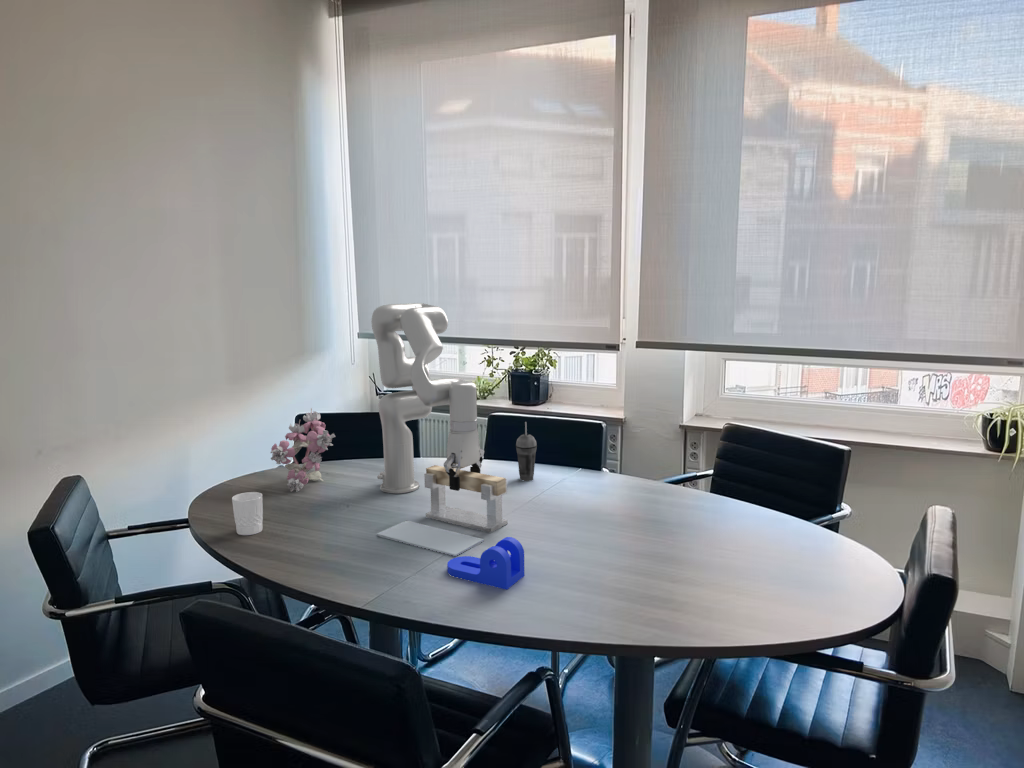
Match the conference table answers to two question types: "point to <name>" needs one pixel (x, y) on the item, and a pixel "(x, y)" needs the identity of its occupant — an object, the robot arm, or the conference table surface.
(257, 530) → the white cup
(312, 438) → the flower
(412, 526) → the mat
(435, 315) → the robot arm
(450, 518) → the rail stand
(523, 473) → the beverage cup
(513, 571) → the bracket
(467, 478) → the rail
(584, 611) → the conference table surface
